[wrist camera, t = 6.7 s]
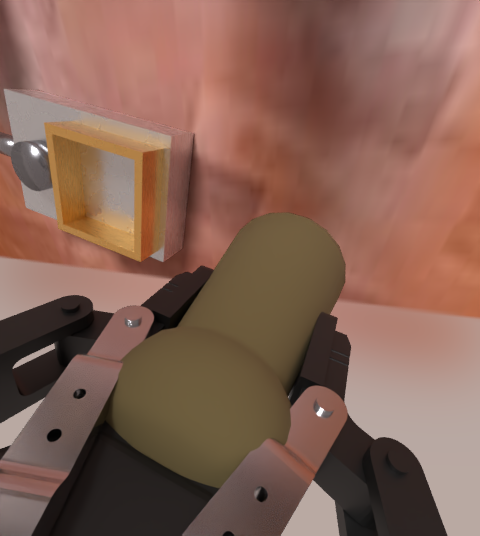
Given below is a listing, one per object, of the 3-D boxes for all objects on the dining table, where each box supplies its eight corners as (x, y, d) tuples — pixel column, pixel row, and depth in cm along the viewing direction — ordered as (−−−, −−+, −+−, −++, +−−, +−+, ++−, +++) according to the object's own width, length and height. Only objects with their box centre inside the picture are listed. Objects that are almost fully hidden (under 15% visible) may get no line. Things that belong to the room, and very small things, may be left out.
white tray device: (6, 81, 36) (-65, 76, 30) (194, 132, 30) (150, 139, 25) (26, 189, 43) (-29, 201, 37) (182, 248, 37) (146, 274, 31)
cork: (210, 265, 18) (30, 438, 9) (277, 185, 14) (92, 333, 5) (288, 336, 18) (193, 580, 9) (374, 274, 14) (364, 573, 5)
